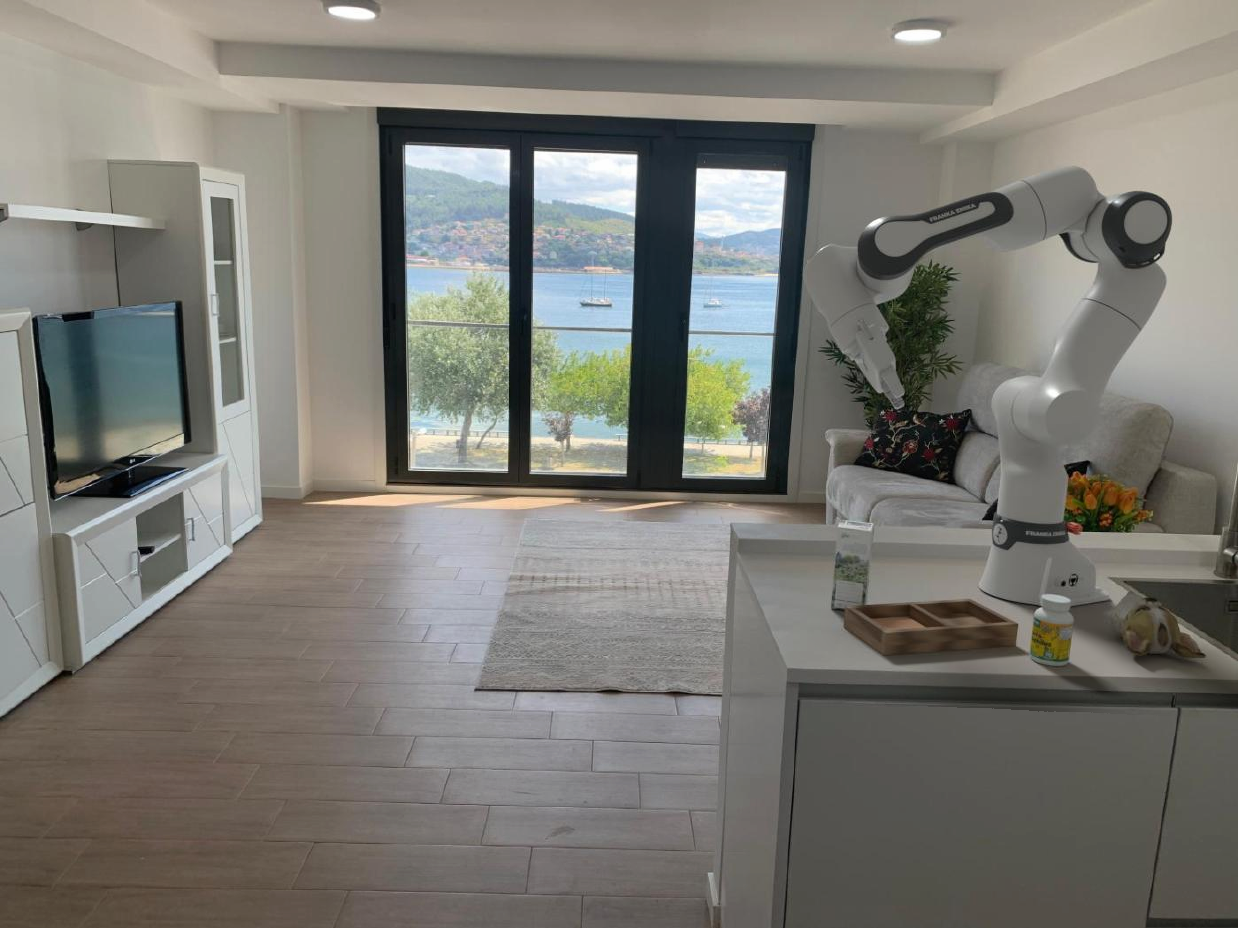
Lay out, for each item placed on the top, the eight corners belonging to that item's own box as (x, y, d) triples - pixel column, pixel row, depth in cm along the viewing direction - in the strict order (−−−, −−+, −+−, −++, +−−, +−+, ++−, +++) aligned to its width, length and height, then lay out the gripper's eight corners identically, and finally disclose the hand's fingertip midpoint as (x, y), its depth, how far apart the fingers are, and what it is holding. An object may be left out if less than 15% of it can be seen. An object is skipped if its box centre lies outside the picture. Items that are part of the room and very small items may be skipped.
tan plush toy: (1165, 582, 153) (1217, 619, 138) (1156, 632, 155) (1207, 674, 140) (1097, 579, 153) (1142, 616, 139) (1089, 629, 155) (1133, 671, 141)
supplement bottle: (1076, 664, 140) (1085, 602, 138) (1049, 668, 138) (1057, 605, 136) (1047, 651, 145) (1055, 590, 143) (1020, 655, 143) (1028, 594, 141)
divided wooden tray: (967, 618, 158) (970, 598, 158) (1015, 645, 147) (1018, 623, 146) (843, 626, 152) (845, 606, 151) (883, 655, 141) (885, 632, 140)
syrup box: (867, 603, 164) (875, 522, 161) (864, 614, 158) (872, 529, 156) (833, 599, 166) (840, 518, 163) (829, 609, 160) (836, 525, 158)
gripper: (876, 305, 153) (919, 378, 149) (879, 338, 172) (917, 404, 169) (840, 324, 154) (882, 397, 151) (847, 355, 174) (884, 421, 170)
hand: (900, 401), depth 160 cm, fingers open, 8 cm apart
